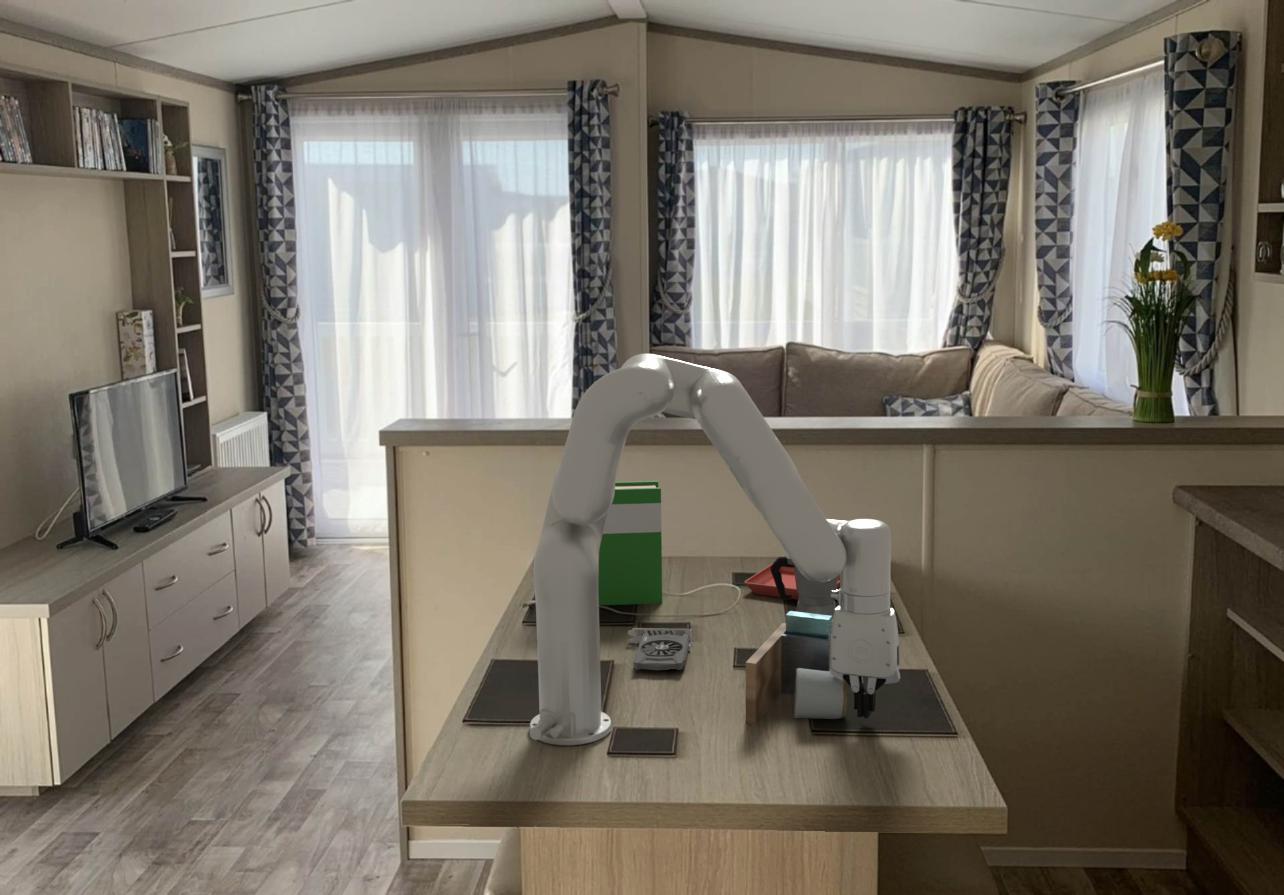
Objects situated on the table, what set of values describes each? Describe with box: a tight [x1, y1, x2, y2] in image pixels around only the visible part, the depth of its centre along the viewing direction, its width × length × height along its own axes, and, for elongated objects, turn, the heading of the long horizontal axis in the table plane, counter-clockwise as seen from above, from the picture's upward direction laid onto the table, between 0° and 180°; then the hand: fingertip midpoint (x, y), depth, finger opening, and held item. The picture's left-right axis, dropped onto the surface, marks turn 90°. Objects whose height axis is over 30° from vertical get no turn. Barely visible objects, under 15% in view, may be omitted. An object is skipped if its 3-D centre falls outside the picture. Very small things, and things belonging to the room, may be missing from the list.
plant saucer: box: [744, 562, 840, 601], centre depth 262 cm, size 18×18×3 cm
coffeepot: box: [770, 555, 840, 620], centre depth 231 cm, size 15×9×18 cm, turn 99°
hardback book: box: [598, 480, 663, 606], centre depth 254 cm, size 18×7×24 cm, turn 94°
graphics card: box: [627, 627, 693, 671], centre depth 222 cm, size 17×4×12 cm
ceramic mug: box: [793, 668, 848, 720], centre depth 196 cm, size 11×8×8 cm
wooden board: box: [745, 622, 786, 726], centre depth 201 cm, size 20×2×10 cm, turn 157°
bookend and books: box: [781, 610, 833, 696], centre depth 205 cm, size 6×8×13 cm
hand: (864, 714), depth 192 cm, fingers closed
